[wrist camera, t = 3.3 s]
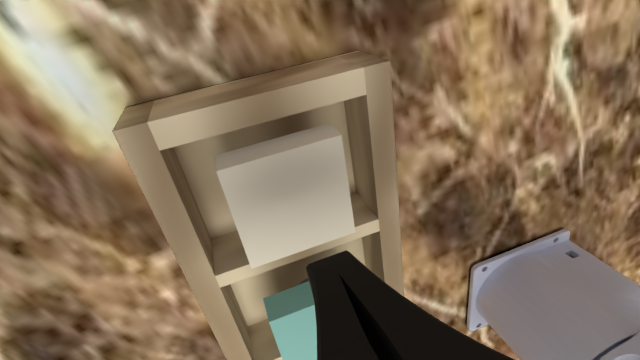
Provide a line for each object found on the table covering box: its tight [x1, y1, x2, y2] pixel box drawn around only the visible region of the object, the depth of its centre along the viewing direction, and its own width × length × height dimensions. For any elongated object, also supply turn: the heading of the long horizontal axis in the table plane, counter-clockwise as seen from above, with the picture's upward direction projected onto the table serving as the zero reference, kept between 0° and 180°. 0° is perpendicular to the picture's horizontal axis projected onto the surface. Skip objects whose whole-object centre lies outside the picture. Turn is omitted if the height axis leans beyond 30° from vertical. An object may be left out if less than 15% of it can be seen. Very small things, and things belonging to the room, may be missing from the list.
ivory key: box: [214, 123, 355, 269], centre depth 16 cm, size 5×5×3 cm
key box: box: [112, 51, 404, 360], centre depth 21 cm, size 11×24×3 cm, turn 9°
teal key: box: [263, 278, 317, 360], centre depth 19 cm, size 5×5×3 cm
